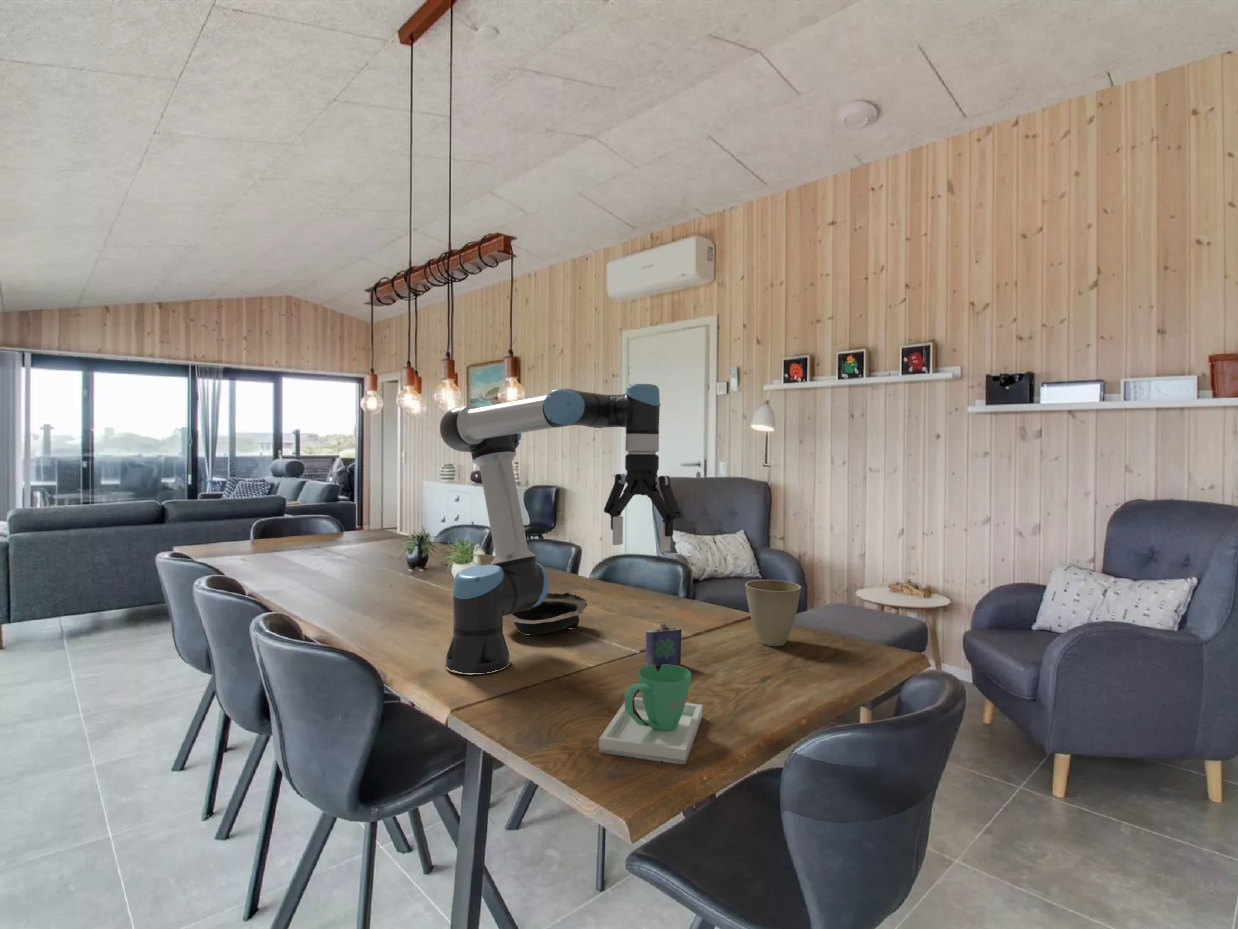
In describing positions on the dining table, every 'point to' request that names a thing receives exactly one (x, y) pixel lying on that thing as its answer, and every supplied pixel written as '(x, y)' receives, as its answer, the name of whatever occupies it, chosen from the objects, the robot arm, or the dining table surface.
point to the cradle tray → (651, 736)
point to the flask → (663, 646)
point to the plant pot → (772, 609)
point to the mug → (660, 696)
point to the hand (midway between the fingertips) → (640, 548)
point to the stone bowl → (550, 614)
